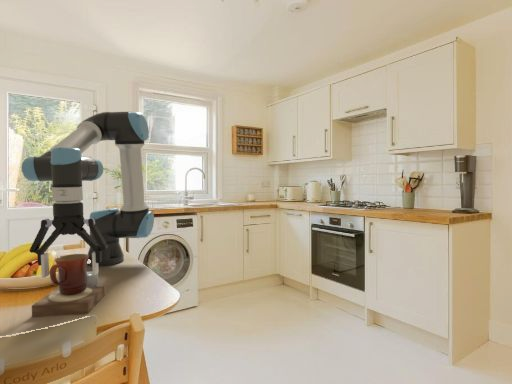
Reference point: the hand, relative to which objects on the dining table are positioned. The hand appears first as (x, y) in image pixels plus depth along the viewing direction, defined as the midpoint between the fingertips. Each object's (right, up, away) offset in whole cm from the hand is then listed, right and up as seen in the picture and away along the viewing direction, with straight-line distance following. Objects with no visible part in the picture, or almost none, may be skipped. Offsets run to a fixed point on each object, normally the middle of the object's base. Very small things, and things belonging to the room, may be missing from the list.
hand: (70, 275), depth 94 cm
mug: (-1, -6, 0) cm, 6 cm away
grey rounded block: (-4, -8, +18) cm, 20 cm away
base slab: (0, -9, 0) cm, 9 cm away
